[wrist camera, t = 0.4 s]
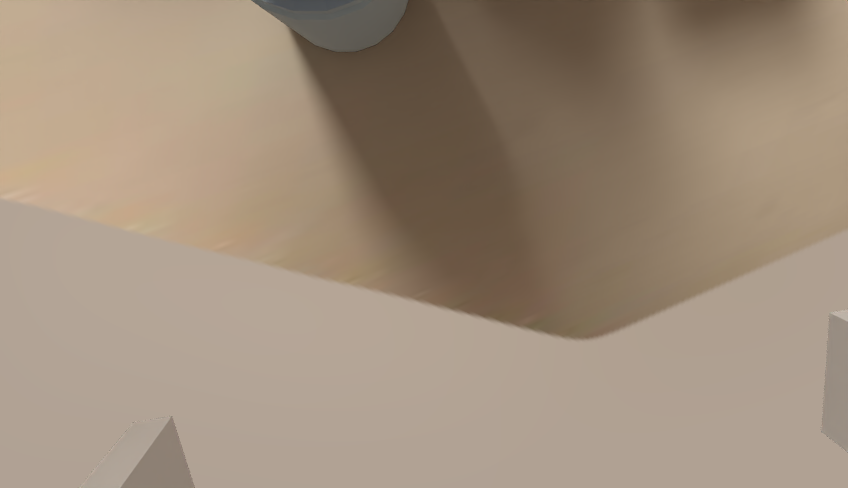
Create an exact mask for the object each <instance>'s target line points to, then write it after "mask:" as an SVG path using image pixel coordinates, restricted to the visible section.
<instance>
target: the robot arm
mask: <svg viewBox="0 0 848 488" xmlns="http://www.w3.org/2000/svg"><path fill="white" fill-rule="evenodd" d="M821 432H822V433H824V434H825V435H826V436H827V437H829V438H830V439H831V440H832V441H834V442H835V443H836V444H838V445H839V446H840V447H841V448H843V449H844V450H845V451H847V452H848V310H844V311H837V312H831V313H829V329H828V341H827V357H826V370H825V386H824V401H823V416H822V430H821ZM79 488H195V487H194V484H193V481H192V478H191V474H190V471H189V468H188V465H187V462H186V459H185V455H184V452H183V449H182V446H181V443H180V440H179V436H178V433H177V430H176V427H175V424H174V421H173V418H172V416H169V417H163V418H157V419H150V420H144V421H138V422H133V423H132V424H131V426H130V427H129V428H128V429H127V430H126V431H125V433H124V434H123V435H122V436H121V437H120V439H119V440H118V441H117V442H116V444H115V445H114V446H113V447H112V448H111V450H110V451H109V452H108V453H107V455H106V456H105V457H104V458H103V459H102V461H101V462H100V463H99V464H98V465H97V466H96V468H95V469H94V470H93V471H92V472H91V474H90V475H89V476H88V477H87V478H86V480H85V481H84V482H83V483H82V485H81V486H80V487H79Z"/></svg>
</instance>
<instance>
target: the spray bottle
mask: <svg viewBox="0 0 848 488" xmlns="http://www.w3.org/2000/svg"><path fill="white" fill-rule="evenodd" d="M252 1H253V2H255V3H256V4H257V5H259V6H260V7H261V8H263V9H264V10H266V11H267V12H268V13H270V14H271V15H273V16H274V17H276V18H277V19H278V20H280V21H281V22H283V23H284V24H286V25H287V26H288V27H290V28H291V29H293V30H294V31H295V32H297V33H298V34H300V35H301V36H303V37H304V38H305V39H307V40H308V41H310V42H311V43H312V44H314V45H316V46H319V47H322V48H325V49H328V50H331V51H334V52H357V51H359V50H362V49H365V48H368V47H371V46H374V45H376V44H377V43H379V42H380V41H381V40H383V39H384V38H385V37H386V36H388V35H389V34H390V33H391V32H393V30H394V29H395V27H396V26H397V24H398V23H399V21H400V19H401V18H402V16H403V15H404V13H405V11H406V7H407V3H408V0H252Z"/></svg>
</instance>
